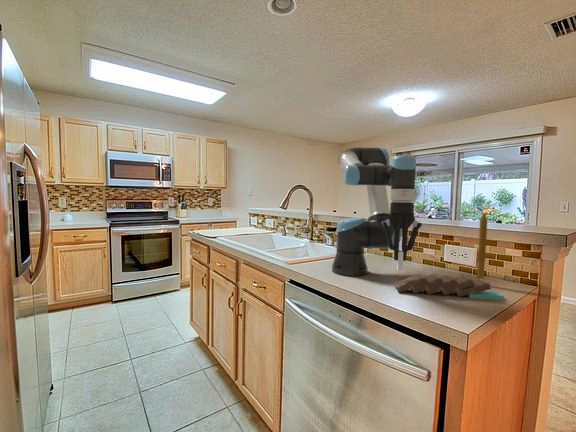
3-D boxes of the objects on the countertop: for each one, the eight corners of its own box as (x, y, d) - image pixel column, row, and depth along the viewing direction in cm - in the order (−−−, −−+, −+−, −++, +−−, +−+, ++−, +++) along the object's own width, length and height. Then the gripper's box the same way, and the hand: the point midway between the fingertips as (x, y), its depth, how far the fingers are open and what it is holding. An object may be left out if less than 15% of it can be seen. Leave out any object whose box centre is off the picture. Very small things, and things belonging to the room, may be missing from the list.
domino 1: (396, 287, 96) (425, 277, 94) (393, 283, 101) (421, 272, 99) (398, 293, 96) (427, 282, 94) (395, 288, 101) (423, 278, 99)
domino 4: (441, 290, 94) (472, 278, 92) (436, 285, 99) (465, 274, 97) (444, 295, 94) (474, 284, 92) (438, 290, 99) (467, 280, 97)
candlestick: (475, 281, 111) (490, 285, 106) (469, 283, 108) (484, 287, 104) (479, 211, 109) (494, 212, 105) (473, 212, 106) (489, 212, 102)
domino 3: (425, 289, 95) (455, 278, 93) (421, 284, 100) (449, 274, 98) (428, 294, 95) (458, 284, 93) (423, 290, 100) (452, 279, 98)
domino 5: (456, 291, 93) (489, 283, 91) (450, 286, 98) (481, 278, 96) (458, 297, 93) (491, 288, 91) (452, 291, 98) (483, 284, 96)
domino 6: (469, 293, 93) (504, 296, 91) (463, 288, 98) (495, 290, 96) (469, 299, 93) (503, 302, 91) (463, 294, 98) (495, 296, 96)
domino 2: (411, 288, 96) (440, 277, 94) (407, 283, 101) (435, 273, 99) (413, 293, 96) (443, 283, 94) (410, 289, 101) (438, 278, 99)
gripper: (384, 201, 94) (381, 271, 96) (425, 202, 92) (422, 273, 94) (380, 201, 102) (378, 266, 103) (419, 201, 99) (416, 268, 101)
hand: (399, 269), depth 98 cm, fingers closed
